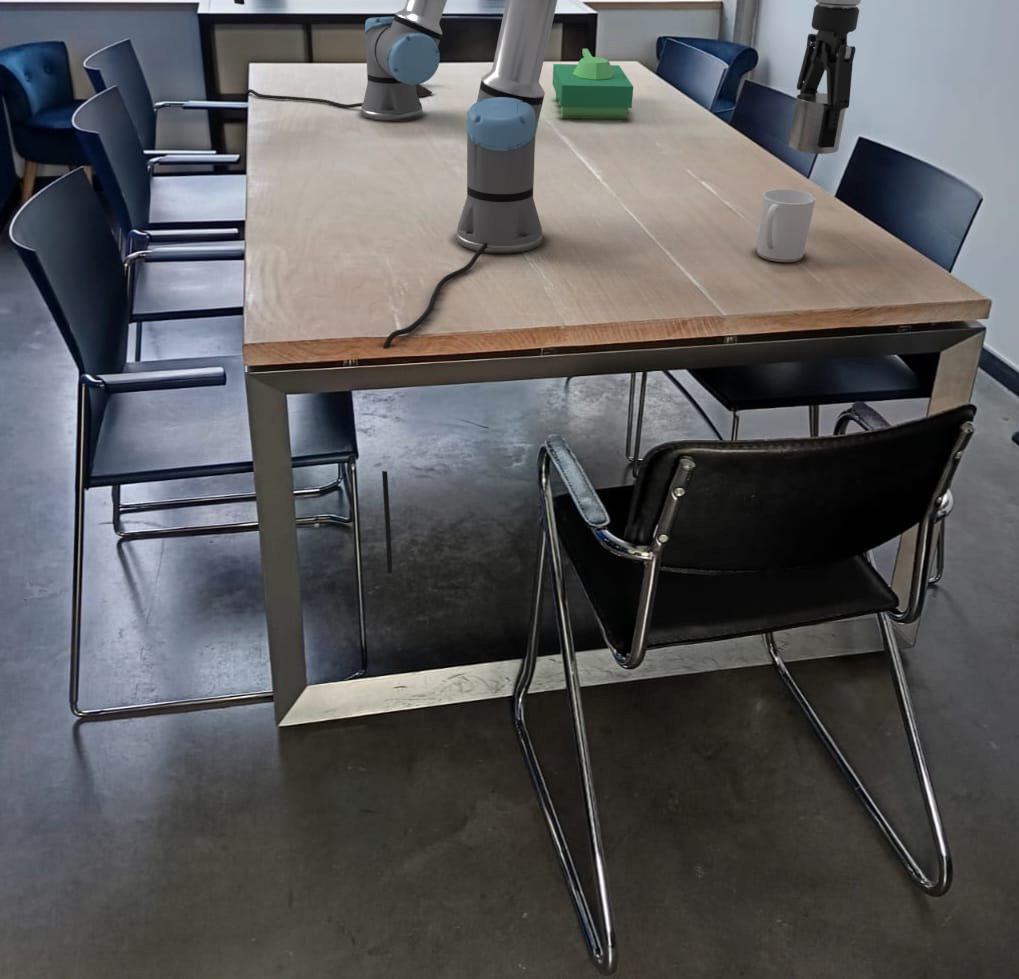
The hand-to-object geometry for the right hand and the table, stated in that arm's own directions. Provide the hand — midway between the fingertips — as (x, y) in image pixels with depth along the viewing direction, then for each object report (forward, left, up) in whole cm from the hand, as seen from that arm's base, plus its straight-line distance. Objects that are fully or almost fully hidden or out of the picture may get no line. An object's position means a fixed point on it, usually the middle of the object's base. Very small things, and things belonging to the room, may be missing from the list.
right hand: (814, 140), depth 198 cm
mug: (-18, +6, -16) cm, 25 cm away
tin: (0, 0, -1) cm, 1 cm away
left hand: (+45, +115, +13) cm, 124 cm away
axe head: (+100, +97, -16) cm, 141 cm away
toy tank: (+93, +46, -16) cm, 105 cm away
